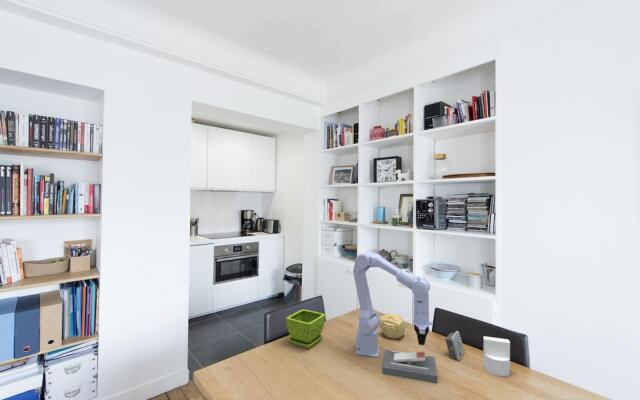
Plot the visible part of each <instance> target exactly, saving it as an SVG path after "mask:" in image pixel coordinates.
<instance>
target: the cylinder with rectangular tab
mask: <svg viewBox="0 0 640 400" xmlns="http://www.w3.org/2000/svg"><path fill="white" fill-rule="evenodd" d="M483 369H484V370H485V371H486V372H487V373H489V374H491V375H494V376H497V377H502V378H503V377H509V376H510V375H511V374H510V373H511V341H510V340H509V339H507V338H501V337H500V338H499V337H492V336H486V335H485V336H483Z"/></svg>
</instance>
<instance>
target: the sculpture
mask: <svg viewBox="0 0 640 400" xmlns="http://www.w3.org/2000/svg"><path fill="white" fill-rule="evenodd" d="M379 319H380V324H379V327H380V328H381V331H382V333H383V334H384V335H385V336H386V338H390V339H394V340H395V339H396V340H397V339H400V338H402V337H403V335H404V334H405V332H406V324H405V320H404V319H403V317H401V316H400V315H398V314H396V313H386V314H383V315H381V316H380V317H379Z"/></svg>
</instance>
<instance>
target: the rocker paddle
mask: <svg viewBox="0 0 640 400" xmlns="http://www.w3.org/2000/svg"><path fill="white" fill-rule="evenodd" d="M408 352H409V353H407V352H405V353H394V362H407V360H411V361H425V355H426V354H425V353H426V352H425V351H413V352H412V351H411V352H410V351H408Z"/></svg>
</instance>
